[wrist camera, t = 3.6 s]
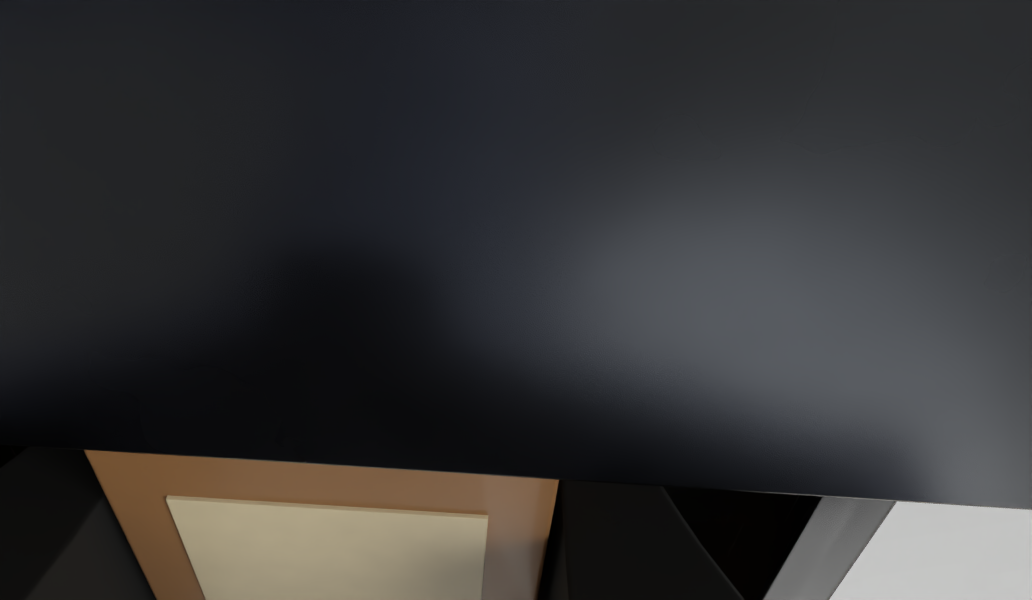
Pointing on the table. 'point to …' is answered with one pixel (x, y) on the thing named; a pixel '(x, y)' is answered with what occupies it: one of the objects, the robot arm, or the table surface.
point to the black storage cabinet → (527, 238)
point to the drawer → (765, 536)
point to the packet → (326, 529)
